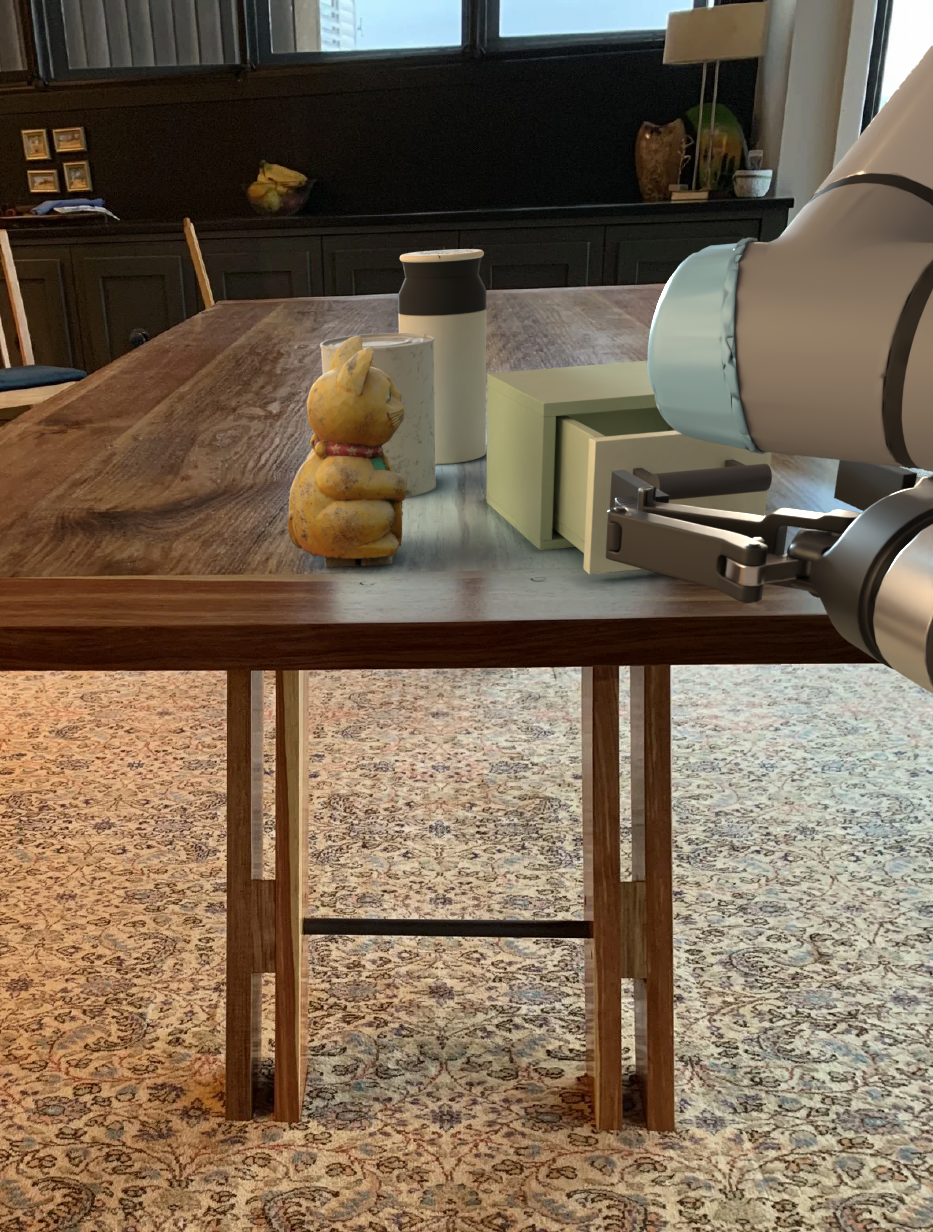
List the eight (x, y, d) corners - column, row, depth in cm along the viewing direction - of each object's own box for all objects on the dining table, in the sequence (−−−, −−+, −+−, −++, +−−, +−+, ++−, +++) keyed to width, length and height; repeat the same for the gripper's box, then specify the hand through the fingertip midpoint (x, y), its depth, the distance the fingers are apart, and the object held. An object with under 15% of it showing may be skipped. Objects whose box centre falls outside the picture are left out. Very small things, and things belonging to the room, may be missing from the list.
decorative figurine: (421, 573, 83) (416, 343, 76) (304, 588, 81) (288, 354, 74) (386, 538, 91) (379, 327, 84) (279, 550, 90) (263, 337, 83)
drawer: (795, 578, 74) (813, 440, 70) (615, 597, 73) (623, 457, 69) (677, 508, 90) (686, 392, 86) (528, 522, 89) (531, 405, 85)
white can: (430, 502, 100) (428, 346, 94) (318, 503, 102) (309, 350, 96) (442, 476, 108) (440, 331, 103) (338, 477, 110) (331, 335, 104)
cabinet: (711, 537, 87) (725, 388, 82) (539, 553, 85) (543, 403, 80) (636, 491, 100) (644, 360, 95) (486, 505, 98) (487, 373, 94)
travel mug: (458, 446, 120) (457, 248, 111) (501, 459, 113) (503, 250, 105) (387, 457, 117) (381, 255, 108) (428, 471, 110) (424, 257, 102)
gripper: (657, 708, 51) (518, 568, 69) (1199, 650, 53) (923, 529, 72) (671, 532, 47) (520, 434, 66) (1251, 478, 49) (947, 398, 68)
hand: (730, 483), depth 69 cm, fingers open, 13 cm apart
